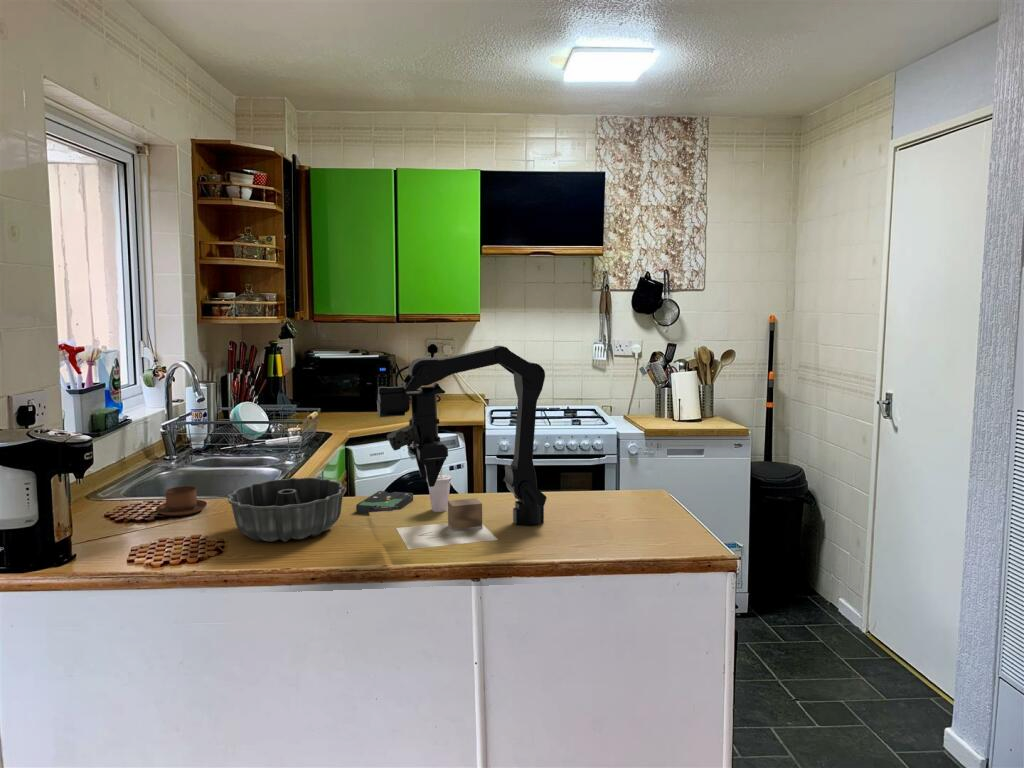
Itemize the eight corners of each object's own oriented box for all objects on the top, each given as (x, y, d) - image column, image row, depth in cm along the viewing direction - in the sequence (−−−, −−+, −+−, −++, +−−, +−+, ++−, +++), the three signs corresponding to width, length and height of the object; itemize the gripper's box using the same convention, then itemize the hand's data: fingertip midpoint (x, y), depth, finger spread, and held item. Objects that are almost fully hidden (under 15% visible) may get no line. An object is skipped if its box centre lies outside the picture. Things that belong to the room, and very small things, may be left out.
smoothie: (450, 517, 185) (450, 463, 184) (425, 517, 186) (424, 463, 184) (453, 510, 192) (452, 457, 190) (428, 510, 192) (427, 457, 190)
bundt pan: (245, 558, 157) (243, 512, 156) (217, 527, 179) (215, 487, 178) (362, 536, 172) (361, 494, 171) (323, 510, 194) (322, 472, 193)
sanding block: (476, 522, 177) (476, 498, 177) (482, 528, 172) (482, 503, 172) (447, 525, 175) (447, 500, 174) (452, 531, 170) (452, 506, 170)
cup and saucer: (145, 517, 188) (144, 493, 188) (180, 505, 200) (179, 482, 199) (184, 521, 185) (182, 497, 184) (217, 508, 196) (216, 486, 195)
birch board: (478, 524, 180) (478, 519, 179) (497, 544, 164) (497, 539, 164) (396, 533, 173) (396, 528, 173) (408, 554, 158) (408, 549, 158)
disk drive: (378, 500, 205) (355, 514, 190) (378, 490, 205) (355, 504, 190) (413, 502, 202) (393, 517, 188) (413, 492, 202) (393, 506, 188)
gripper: (382, 411, 173) (385, 476, 175) (395, 423, 156) (399, 495, 157) (429, 407, 177) (432, 471, 178) (447, 419, 159) (450, 490, 161)
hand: (427, 481), depth 169 cm, fingers open, 9 cm apart
